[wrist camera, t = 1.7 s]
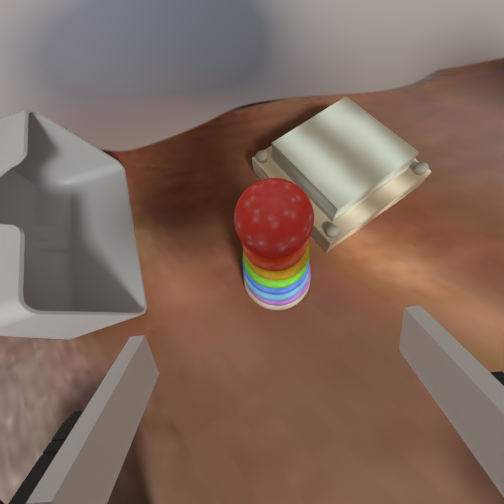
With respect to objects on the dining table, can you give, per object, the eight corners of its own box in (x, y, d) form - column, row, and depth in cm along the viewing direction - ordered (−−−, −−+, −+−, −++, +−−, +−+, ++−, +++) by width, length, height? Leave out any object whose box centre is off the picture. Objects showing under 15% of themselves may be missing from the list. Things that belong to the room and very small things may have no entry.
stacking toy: (236, 262, 33) (187, 162, 15) (293, 240, 33) (309, 118, 16) (257, 321, 30) (228, 280, 12) (320, 296, 30) (377, 223, 13)
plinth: (337, 119, 40) (346, 81, 34) (419, 186, 34) (446, 154, 29) (253, 172, 38) (249, 141, 32) (326, 252, 32) (336, 232, 26)
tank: (28, 196, 40) (-73, 134, 29) (124, 164, 41) (63, 91, 29) (24, 358, 31) (-127, 362, 20) (149, 315, 32) (73, 295, 20)
